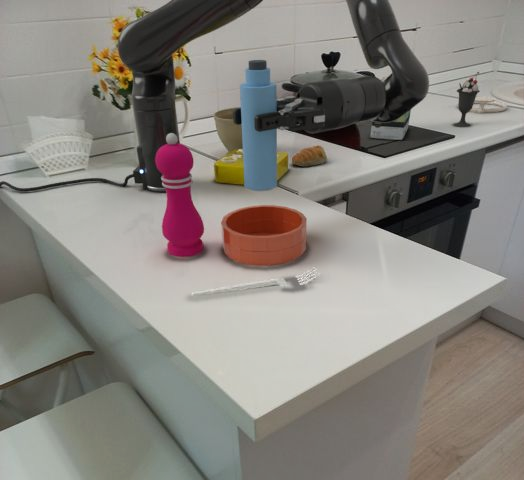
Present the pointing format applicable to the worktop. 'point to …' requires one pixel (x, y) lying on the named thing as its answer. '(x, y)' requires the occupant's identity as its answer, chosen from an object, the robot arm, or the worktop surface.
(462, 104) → the sundae
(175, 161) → the pepper mill
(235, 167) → the element tile
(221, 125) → the planter bowl
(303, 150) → the pastry
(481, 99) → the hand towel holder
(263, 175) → the bottle
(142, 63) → the robot arm
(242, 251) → the pot
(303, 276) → the fork
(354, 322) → the worktop surface
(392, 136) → the tea box
